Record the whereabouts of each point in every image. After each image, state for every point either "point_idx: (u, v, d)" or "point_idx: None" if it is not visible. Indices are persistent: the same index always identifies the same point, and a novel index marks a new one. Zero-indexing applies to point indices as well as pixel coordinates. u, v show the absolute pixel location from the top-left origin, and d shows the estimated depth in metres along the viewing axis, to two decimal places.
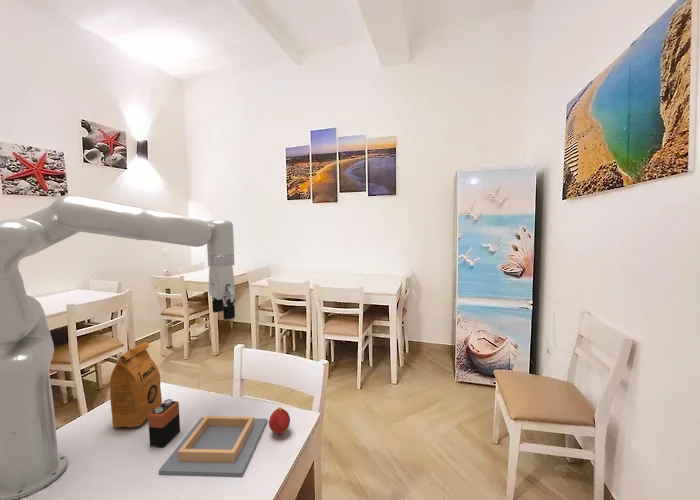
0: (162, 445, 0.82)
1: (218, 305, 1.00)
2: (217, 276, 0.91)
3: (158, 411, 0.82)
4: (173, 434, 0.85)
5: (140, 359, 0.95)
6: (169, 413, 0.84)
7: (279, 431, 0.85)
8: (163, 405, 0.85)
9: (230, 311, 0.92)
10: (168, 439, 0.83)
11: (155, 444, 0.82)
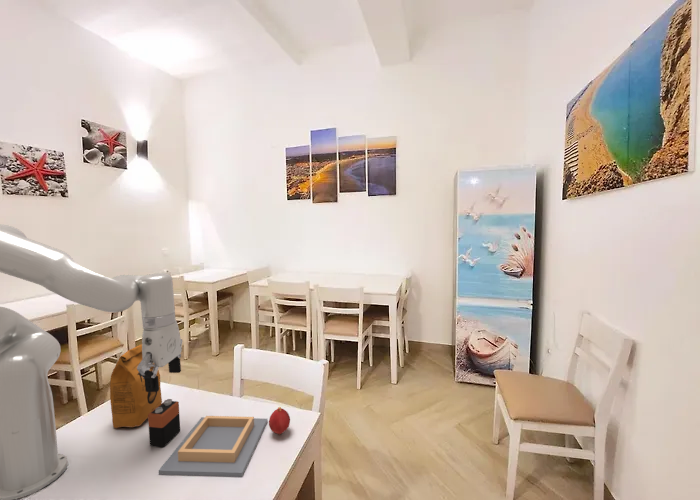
0: (162, 445, 0.82)
1: None
2: (178, 330, 0.86)
3: (158, 411, 0.82)
4: (173, 434, 0.85)
5: (140, 359, 0.95)
6: (169, 413, 0.84)
7: (279, 431, 0.85)
8: (163, 405, 0.85)
9: None
10: (168, 439, 0.83)
11: (155, 444, 0.82)
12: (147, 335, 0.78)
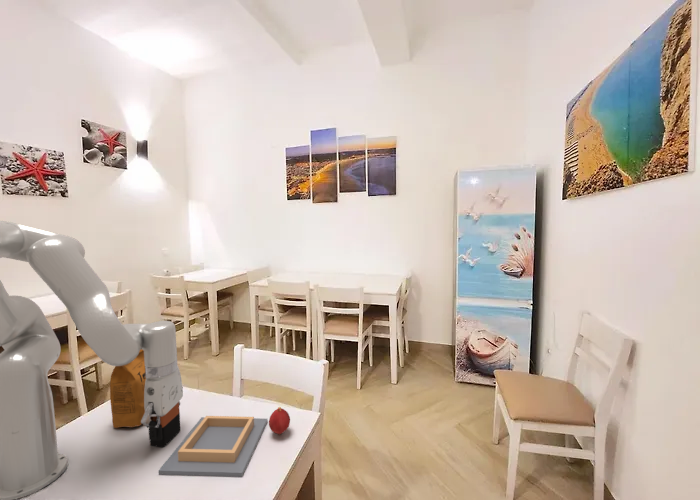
0: (162, 445, 0.82)
1: None
2: (179, 375, 0.88)
3: None
4: (173, 434, 0.85)
5: (140, 359, 0.95)
6: (169, 413, 0.84)
7: (279, 431, 0.85)
8: None
9: None
10: (168, 439, 0.83)
11: (155, 444, 0.82)
12: (149, 385, 0.79)
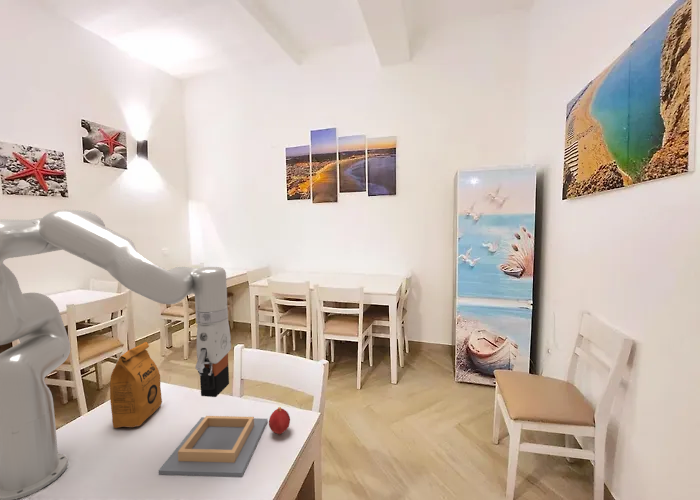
0: (214, 395, 0.78)
1: None
2: (228, 325, 0.84)
3: None
4: (223, 385, 0.82)
5: (140, 359, 0.95)
6: (220, 362, 0.80)
7: (279, 431, 0.85)
8: None
9: None
10: (219, 390, 0.80)
11: (207, 394, 0.78)
12: (202, 330, 0.75)
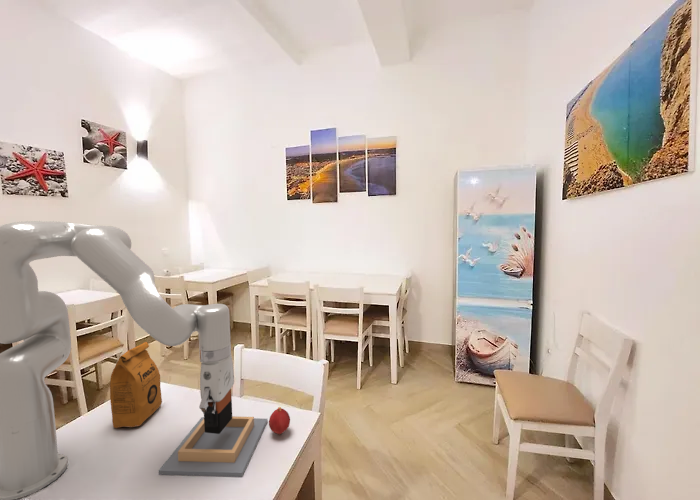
0: (218, 432, 0.79)
1: None
2: (231, 361, 0.85)
3: None
4: (227, 421, 0.82)
5: (140, 359, 0.95)
6: (224, 399, 0.81)
7: (279, 431, 0.85)
8: None
9: None
10: (223, 426, 0.80)
11: (210, 431, 0.79)
12: (206, 369, 0.76)
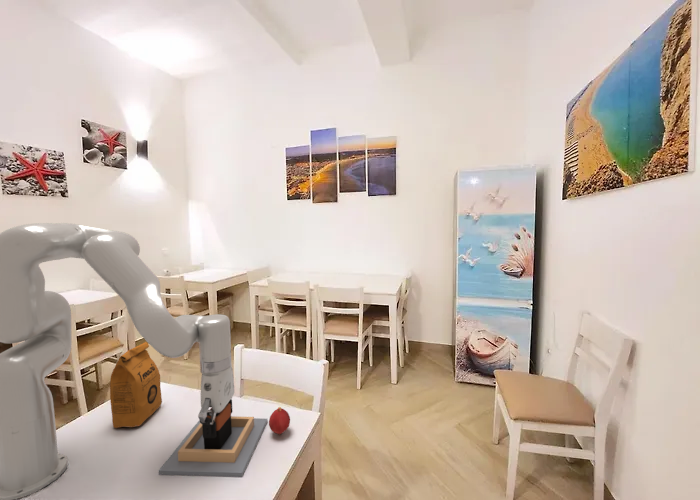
0: (218, 448, 0.79)
1: None
2: (232, 371, 0.85)
3: None
4: (226, 437, 0.83)
5: (140, 359, 0.95)
6: (223, 415, 0.81)
7: (279, 431, 0.85)
8: None
9: None
10: (222, 443, 0.81)
11: (210, 447, 0.79)
12: (206, 380, 0.77)
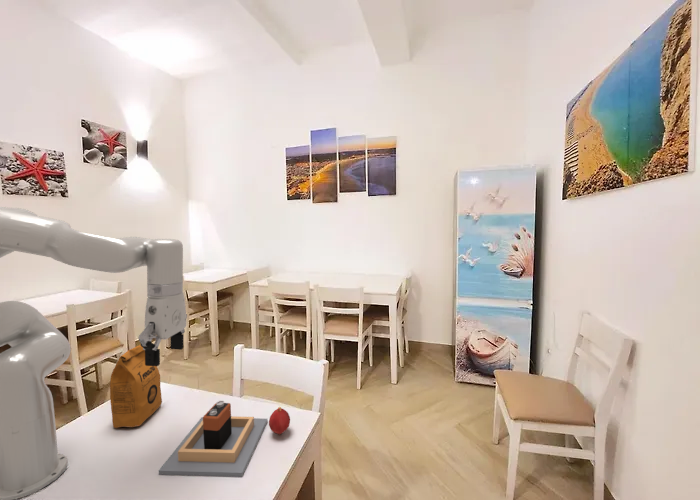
0: (218, 448, 0.79)
1: None
2: (184, 302, 0.80)
3: (213, 413, 0.80)
4: (226, 437, 0.83)
5: (140, 359, 0.95)
6: (223, 415, 0.81)
7: (279, 431, 0.85)
8: (216, 407, 0.83)
9: None
10: (222, 443, 0.81)
11: (210, 447, 0.79)
12: (152, 303, 0.72)
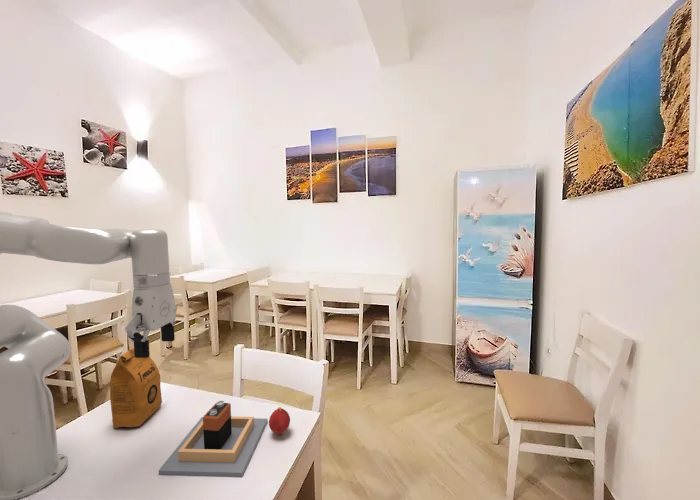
0: (218, 448, 0.79)
1: None
2: (172, 293, 0.79)
3: (213, 413, 0.80)
4: (226, 437, 0.83)
5: (140, 359, 0.95)
6: (223, 415, 0.81)
7: (279, 431, 0.85)
8: (216, 407, 0.83)
9: None
10: (222, 443, 0.81)
11: (210, 447, 0.79)
12: (138, 294, 0.71)
